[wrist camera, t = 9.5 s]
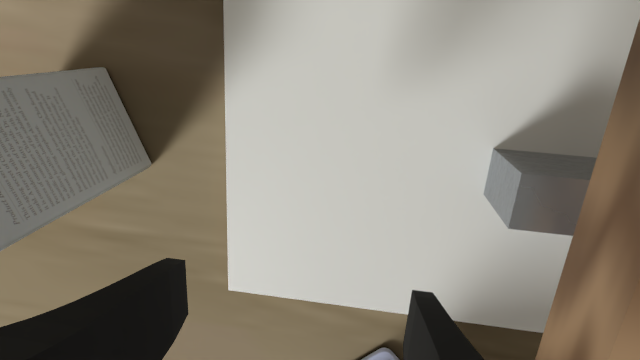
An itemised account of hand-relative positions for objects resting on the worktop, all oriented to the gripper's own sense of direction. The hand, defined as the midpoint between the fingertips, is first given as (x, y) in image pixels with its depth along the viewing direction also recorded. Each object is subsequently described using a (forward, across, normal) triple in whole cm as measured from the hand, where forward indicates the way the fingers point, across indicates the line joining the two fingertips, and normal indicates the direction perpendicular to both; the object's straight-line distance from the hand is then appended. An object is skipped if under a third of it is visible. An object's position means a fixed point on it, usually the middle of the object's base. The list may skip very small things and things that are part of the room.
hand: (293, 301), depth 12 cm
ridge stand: (+10, -6, -2) cm, 12 cm away
